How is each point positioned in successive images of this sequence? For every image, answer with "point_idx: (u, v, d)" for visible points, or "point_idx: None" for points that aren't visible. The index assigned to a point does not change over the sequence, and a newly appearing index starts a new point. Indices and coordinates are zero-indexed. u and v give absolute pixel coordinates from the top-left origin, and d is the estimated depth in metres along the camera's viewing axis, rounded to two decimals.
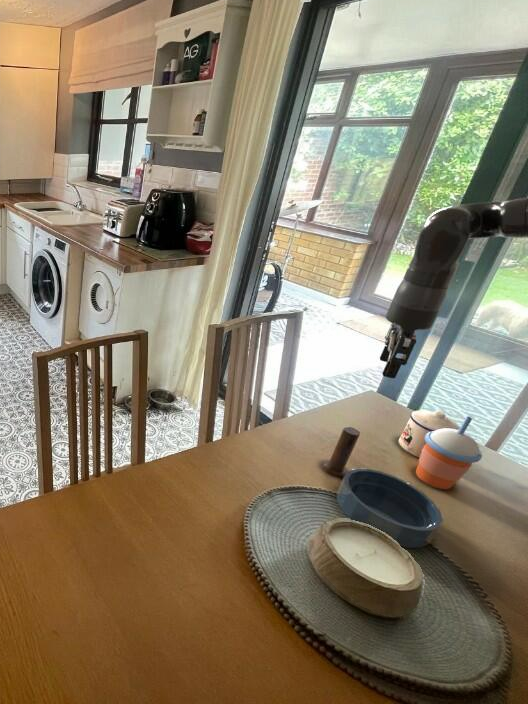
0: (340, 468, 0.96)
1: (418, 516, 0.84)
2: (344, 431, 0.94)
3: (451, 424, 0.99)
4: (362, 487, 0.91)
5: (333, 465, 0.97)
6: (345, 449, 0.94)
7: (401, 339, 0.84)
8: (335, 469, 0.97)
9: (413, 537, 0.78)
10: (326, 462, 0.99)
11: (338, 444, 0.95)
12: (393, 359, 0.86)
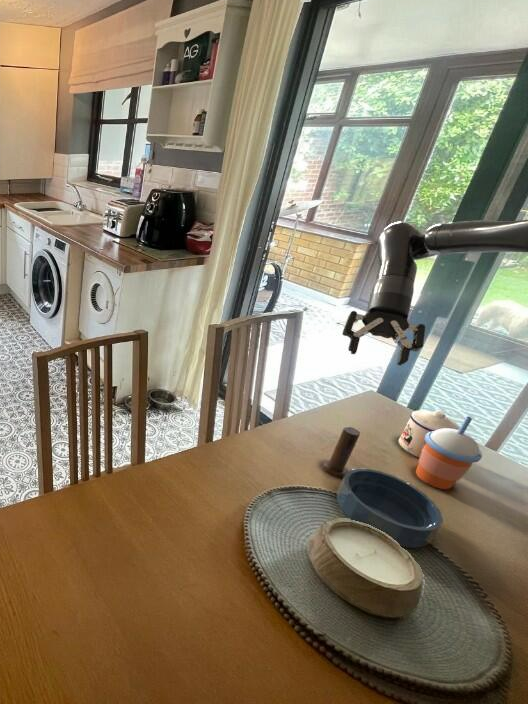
0: (340, 468, 0.96)
1: (418, 516, 0.84)
2: (344, 431, 0.94)
3: (451, 424, 0.99)
4: (362, 487, 0.91)
5: (333, 465, 0.97)
6: (345, 449, 0.94)
7: None
8: (335, 469, 0.97)
9: (413, 537, 0.78)
10: (326, 462, 0.99)
11: (338, 444, 0.95)
12: (343, 331, 1.01)
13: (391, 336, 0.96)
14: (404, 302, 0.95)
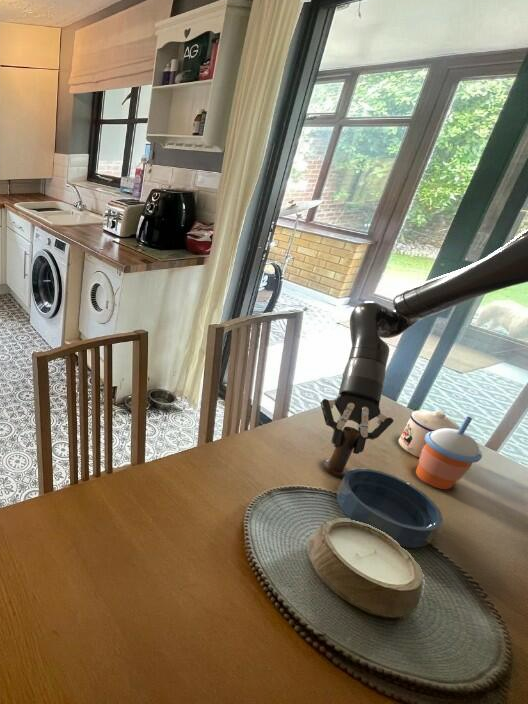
0: (340, 468, 0.96)
1: (418, 516, 0.84)
2: (344, 431, 0.94)
3: (451, 424, 0.99)
4: (362, 487, 0.91)
5: (333, 465, 0.97)
6: (346, 449, 0.94)
7: (320, 403, 1.00)
8: (335, 469, 0.97)
9: (413, 537, 0.78)
10: (326, 462, 0.99)
11: None
12: (326, 421, 0.98)
13: None
14: (375, 388, 0.93)
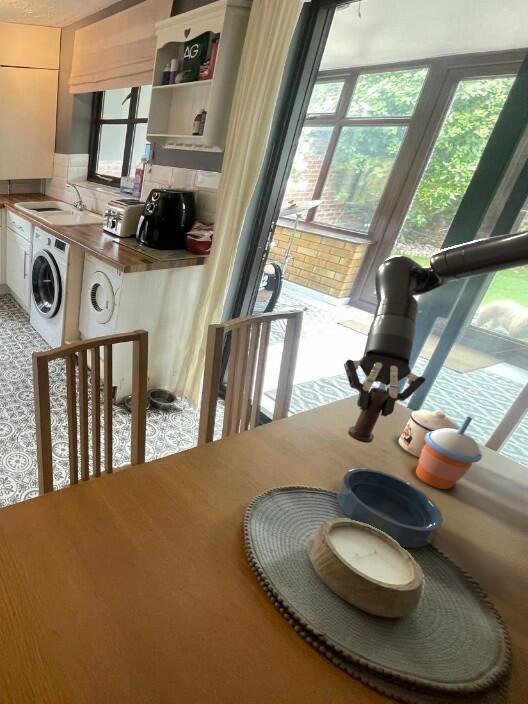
0: (367, 433, 0.89)
1: (418, 516, 0.84)
2: (371, 392, 0.87)
3: (451, 424, 0.99)
4: (362, 487, 0.91)
5: (359, 430, 0.90)
6: (373, 411, 0.87)
7: (344, 364, 0.93)
8: (361, 434, 0.90)
9: (413, 537, 0.78)
10: (351, 428, 0.92)
11: None
12: (350, 383, 0.91)
13: None
14: (405, 346, 0.86)
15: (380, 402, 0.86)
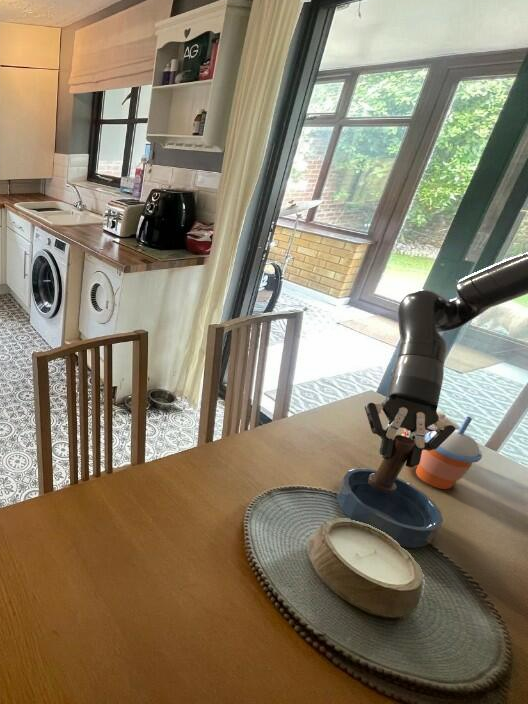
0: (389, 483, 0.83)
1: (418, 516, 0.84)
2: (396, 440, 0.80)
3: (451, 424, 0.99)
4: (362, 487, 0.91)
5: (380, 479, 0.83)
6: (397, 461, 0.80)
7: (365, 407, 0.86)
8: (383, 484, 0.83)
9: (413, 537, 0.78)
10: (371, 476, 0.86)
11: None
12: (372, 428, 0.84)
13: None
14: (433, 391, 0.80)
15: (405, 452, 0.79)
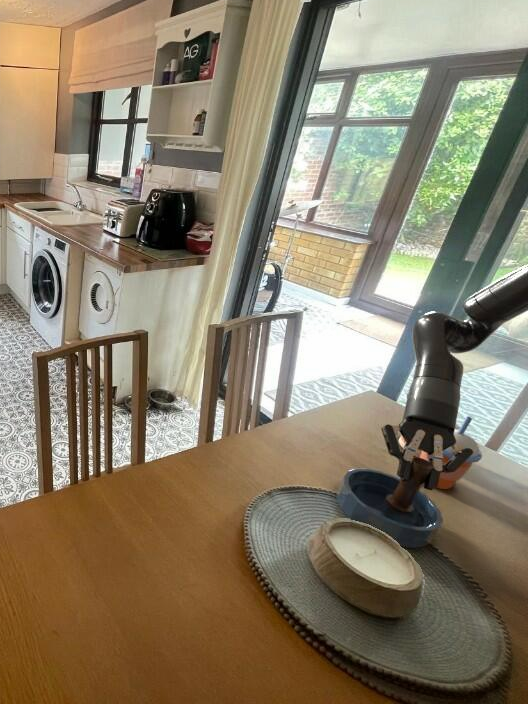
0: (407, 505, 0.83)
1: (418, 516, 0.84)
2: (414, 463, 0.81)
3: None
4: (362, 487, 0.91)
5: (398, 501, 0.84)
6: (415, 483, 0.81)
7: (381, 428, 0.87)
8: (400, 506, 0.84)
9: (413, 537, 0.78)
10: (388, 497, 0.86)
11: None
12: (389, 449, 0.85)
13: None
14: (450, 414, 0.80)
15: (423, 475, 0.80)
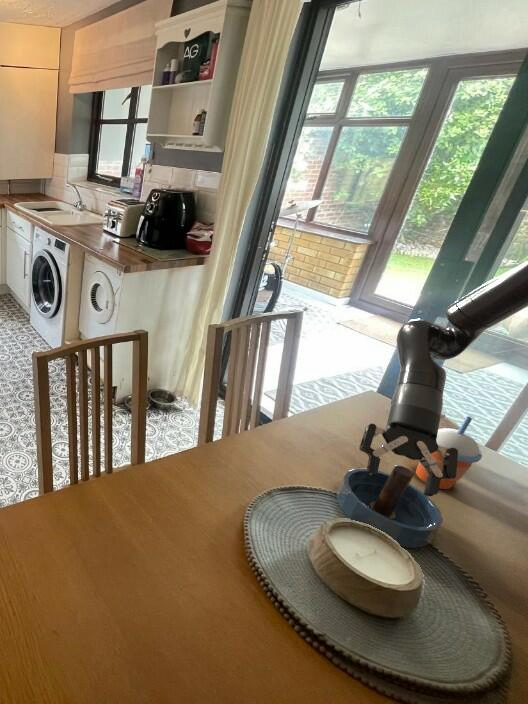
0: (389, 512, 0.84)
1: (418, 516, 0.84)
2: (395, 471, 0.82)
3: (451, 424, 0.99)
4: (362, 487, 0.91)
5: (380, 508, 0.85)
6: (396, 491, 0.82)
7: (366, 426, 0.88)
8: (383, 513, 0.85)
9: (413, 537, 0.78)
10: (371, 504, 0.87)
11: (387, 485, 0.84)
12: (360, 446, 0.87)
13: (417, 459, 0.82)
14: (432, 420, 0.81)
15: (404, 483, 0.81)
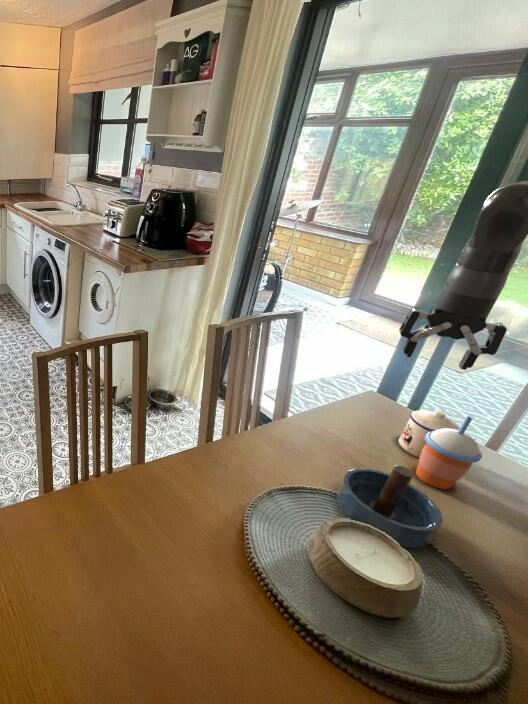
0: (389, 512, 0.84)
1: (418, 516, 0.84)
2: (395, 471, 0.82)
3: (451, 424, 0.99)
4: (362, 487, 0.91)
5: (380, 508, 0.85)
6: (396, 491, 0.82)
7: (410, 309, 0.86)
8: (383, 513, 0.85)
9: (413, 537, 0.78)
10: (371, 504, 0.87)
11: (387, 485, 0.84)
12: (400, 328, 0.88)
13: None
14: (484, 307, 0.77)
15: (404, 483, 0.81)
